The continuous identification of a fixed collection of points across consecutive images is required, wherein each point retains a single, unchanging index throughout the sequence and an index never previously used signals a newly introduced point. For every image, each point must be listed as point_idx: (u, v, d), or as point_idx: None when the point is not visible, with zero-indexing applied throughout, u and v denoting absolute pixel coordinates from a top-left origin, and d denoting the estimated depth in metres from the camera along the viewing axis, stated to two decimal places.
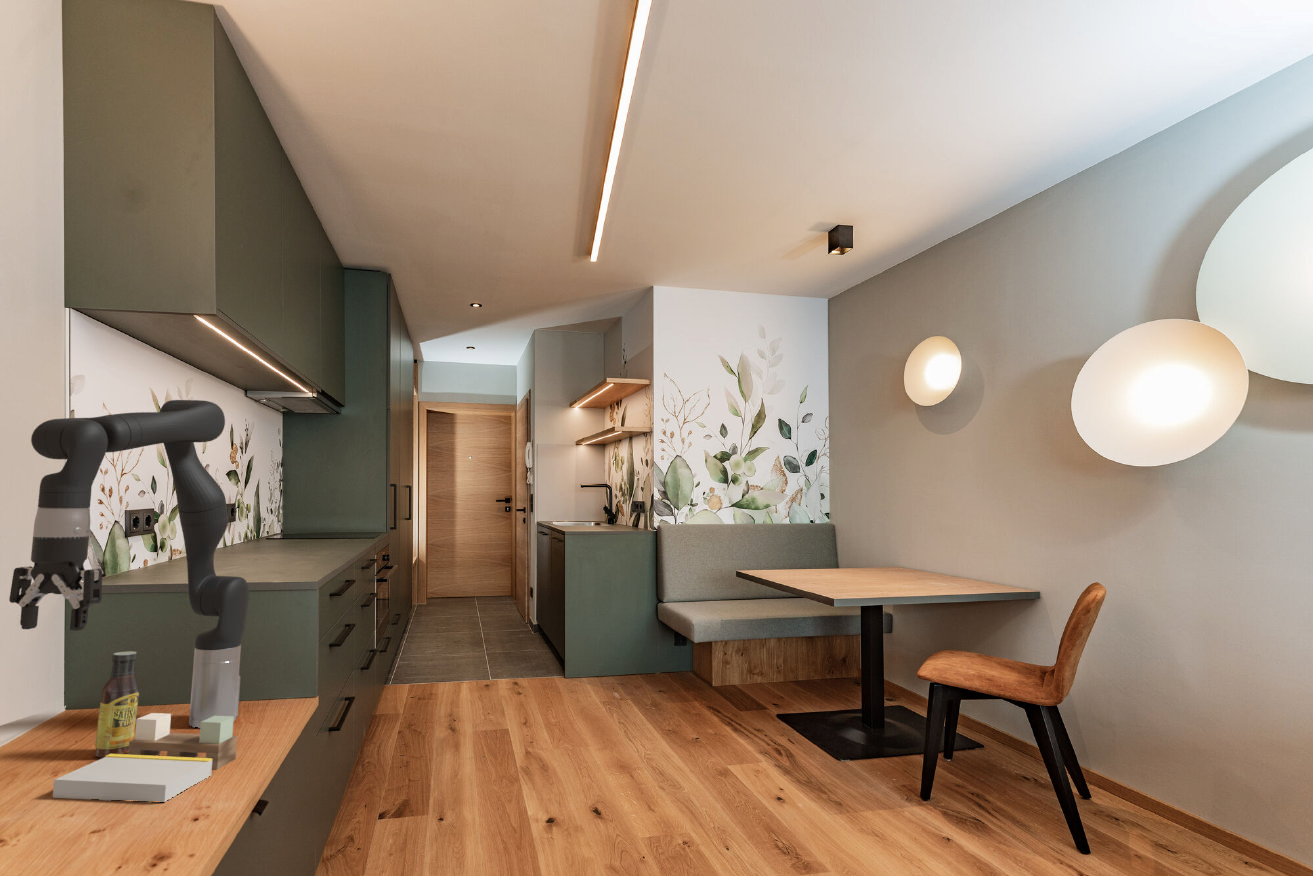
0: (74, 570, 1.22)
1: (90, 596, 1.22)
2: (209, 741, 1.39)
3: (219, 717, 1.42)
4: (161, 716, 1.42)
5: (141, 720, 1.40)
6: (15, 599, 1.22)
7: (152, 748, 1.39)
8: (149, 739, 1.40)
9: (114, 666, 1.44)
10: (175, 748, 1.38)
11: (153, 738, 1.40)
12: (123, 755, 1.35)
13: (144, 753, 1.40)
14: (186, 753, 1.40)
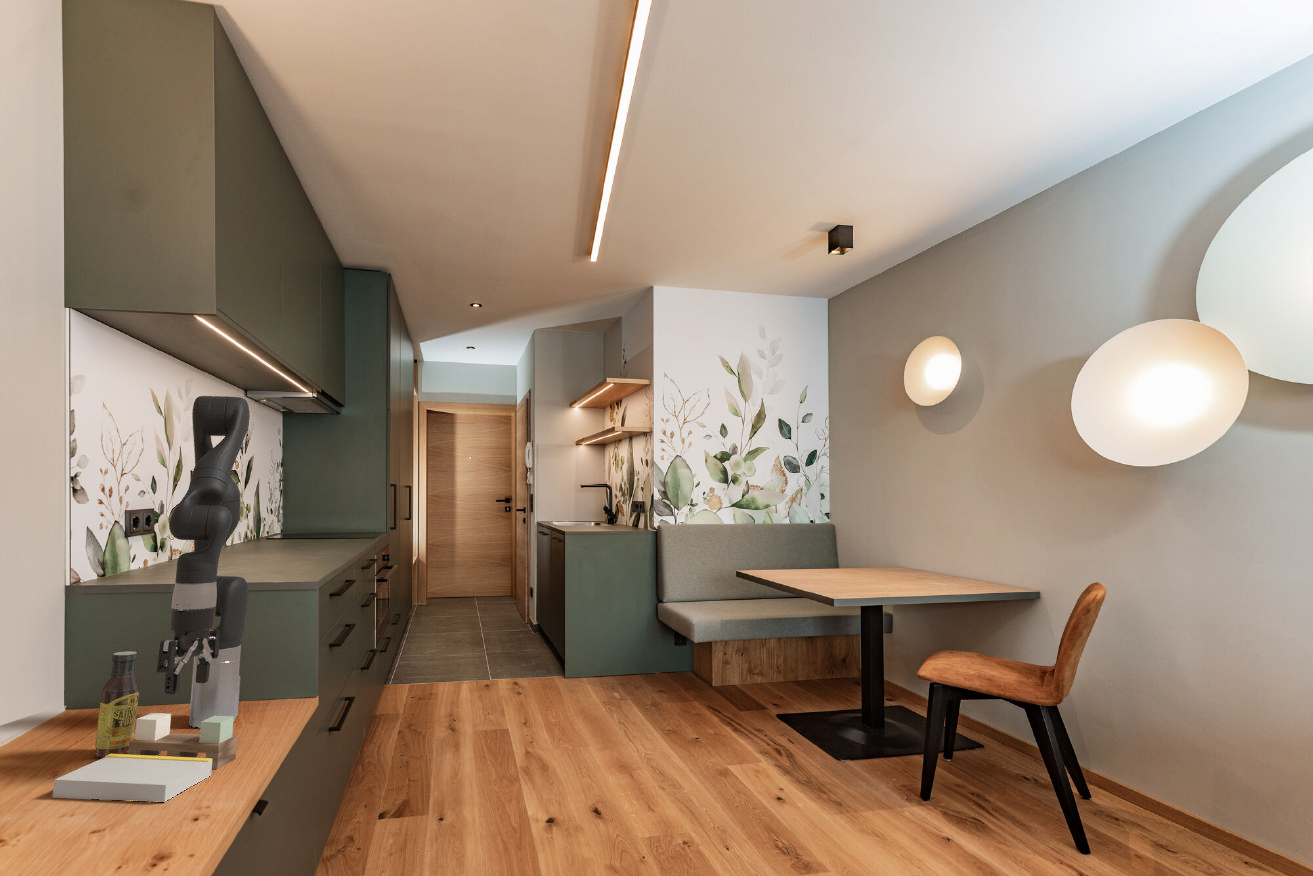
0: (208, 632, 1.47)
1: (218, 650, 1.49)
2: (209, 741, 1.39)
3: (219, 717, 1.42)
4: (161, 716, 1.42)
5: (141, 720, 1.40)
6: (172, 669, 1.36)
7: (152, 748, 1.39)
8: (149, 739, 1.40)
9: (114, 666, 1.44)
10: (175, 748, 1.38)
11: (153, 738, 1.40)
12: (123, 755, 1.35)
13: (144, 753, 1.40)
14: (186, 753, 1.40)
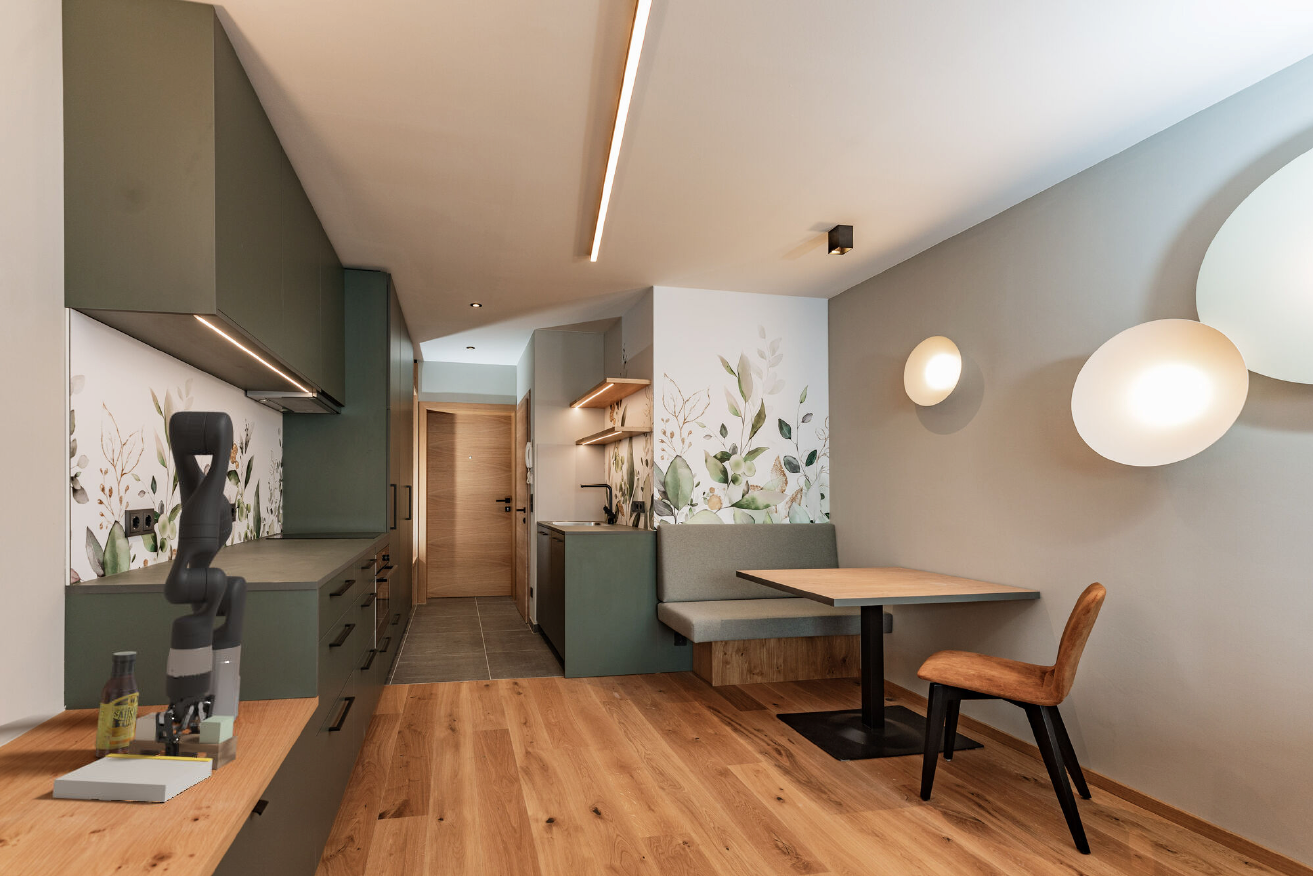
0: (204, 696, 1.46)
1: None
2: (209, 741, 1.39)
3: (219, 717, 1.42)
4: None
5: (141, 720, 1.40)
6: (172, 739, 1.36)
7: (152, 748, 1.39)
8: (149, 739, 1.40)
9: (114, 666, 1.44)
10: None
11: (153, 738, 1.40)
12: (123, 755, 1.35)
13: (144, 753, 1.40)
14: (186, 753, 1.40)
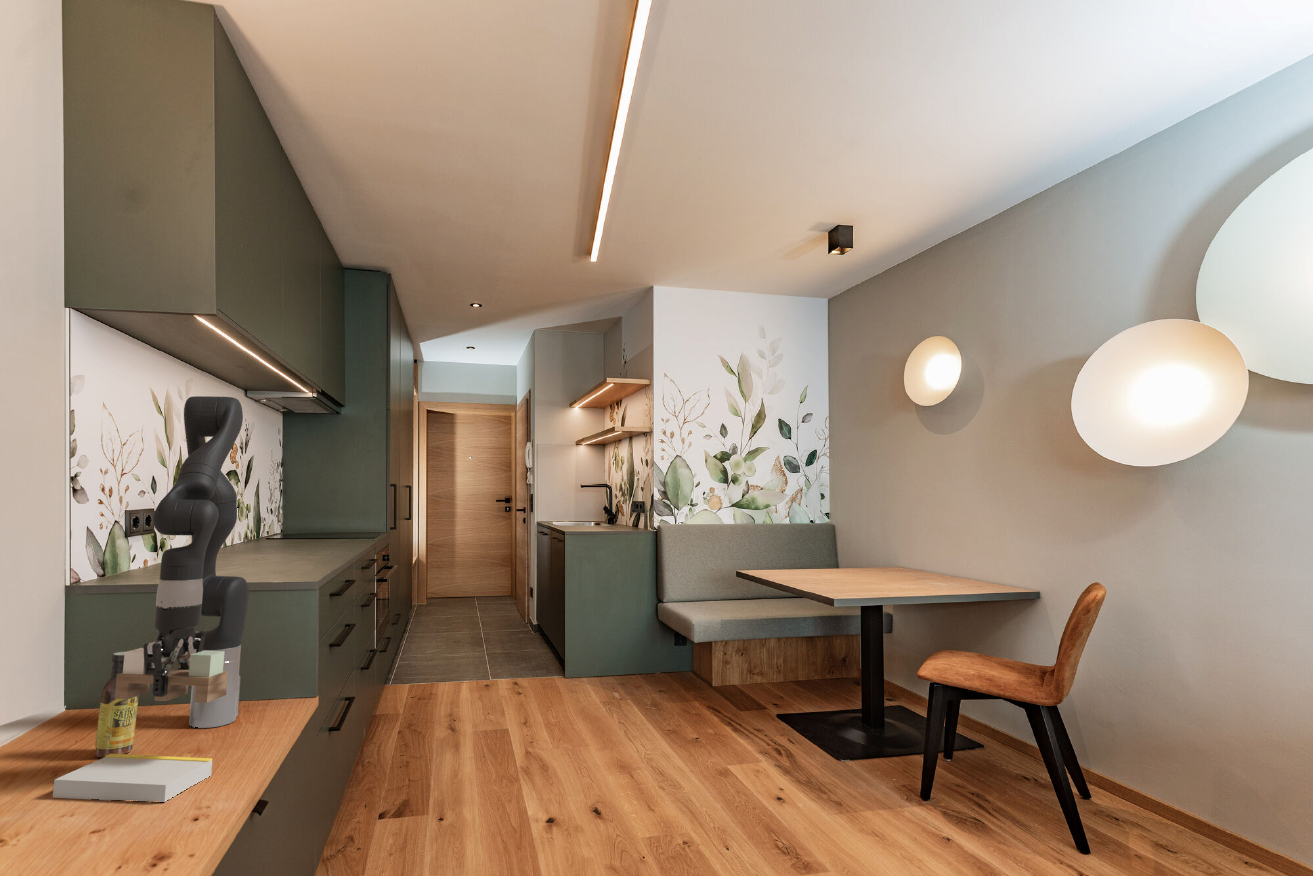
0: (195, 631, 1.42)
1: None
2: (199, 674, 1.36)
3: (209, 651, 1.39)
4: None
5: (129, 653, 1.37)
6: (161, 671, 1.33)
7: (140, 681, 1.35)
8: (137, 672, 1.36)
9: (114, 666, 1.44)
10: None
11: (141, 672, 1.36)
12: (123, 755, 1.35)
13: (132, 687, 1.36)
14: (175, 687, 1.37)
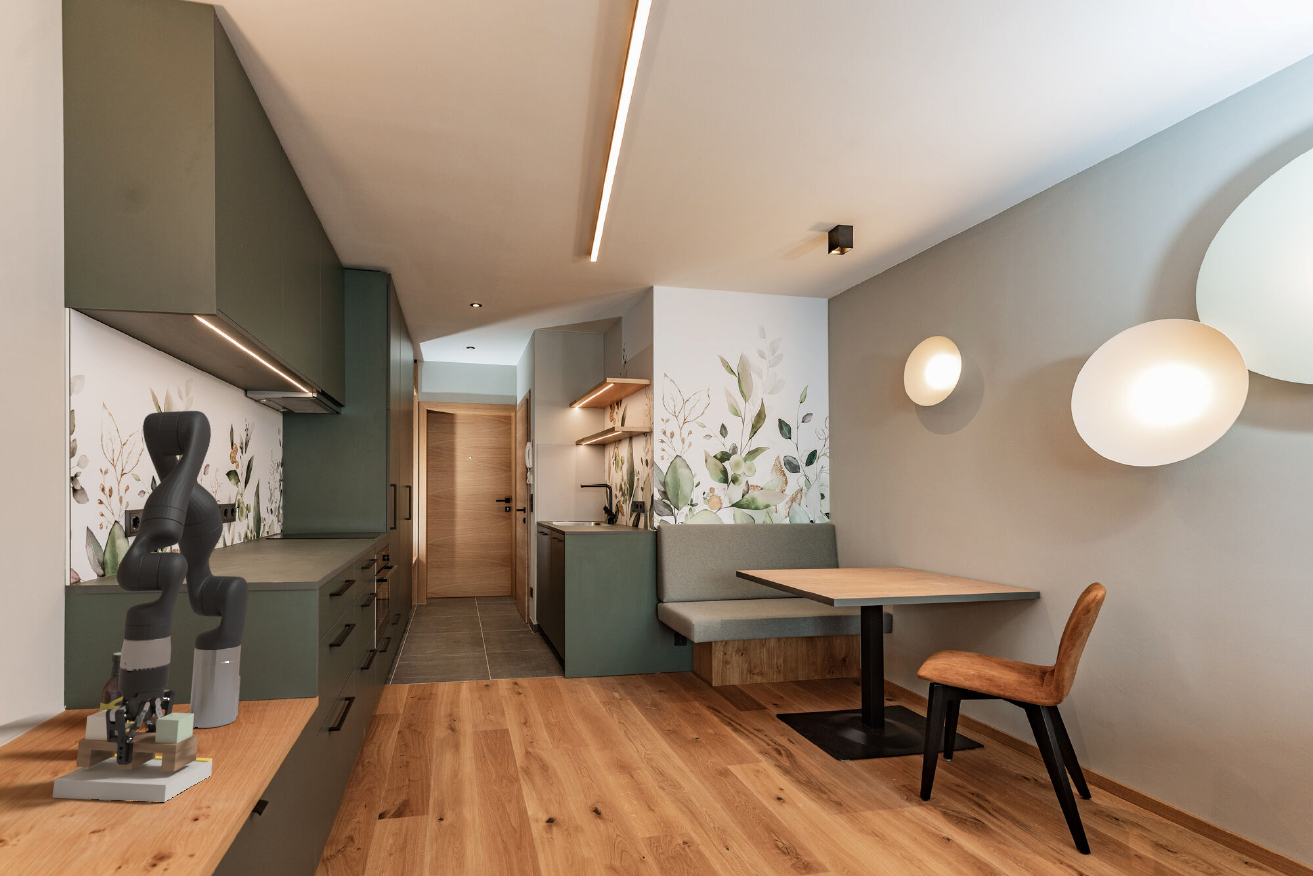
0: (163, 691, 1.34)
1: None
2: (166, 740, 1.27)
3: (178, 714, 1.31)
4: None
5: (92, 717, 1.28)
6: (125, 738, 1.25)
7: (104, 748, 1.27)
8: (101, 738, 1.28)
9: (114, 666, 1.44)
10: None
11: (105, 737, 1.28)
12: None
13: (95, 753, 1.28)
14: (141, 753, 1.29)
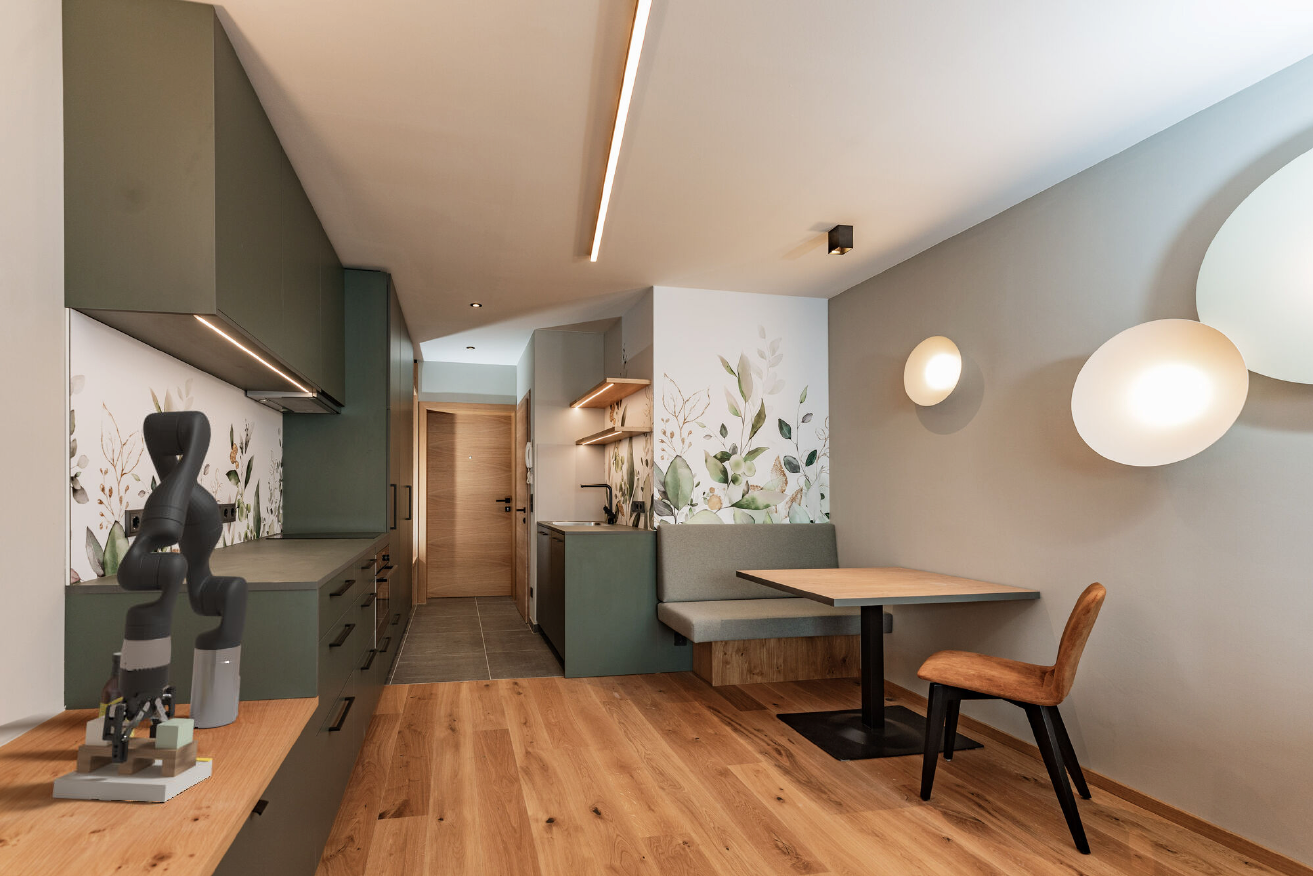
0: (163, 690, 1.34)
1: (174, 708, 1.37)
2: (166, 746, 1.27)
3: (178, 720, 1.31)
4: None
5: (92, 723, 1.28)
6: (120, 736, 1.24)
7: (103, 754, 1.27)
8: (100, 744, 1.28)
9: (114, 666, 1.44)
10: (128, 754, 1.27)
11: (105, 743, 1.28)
12: None
13: (95, 759, 1.28)
14: (141, 759, 1.29)
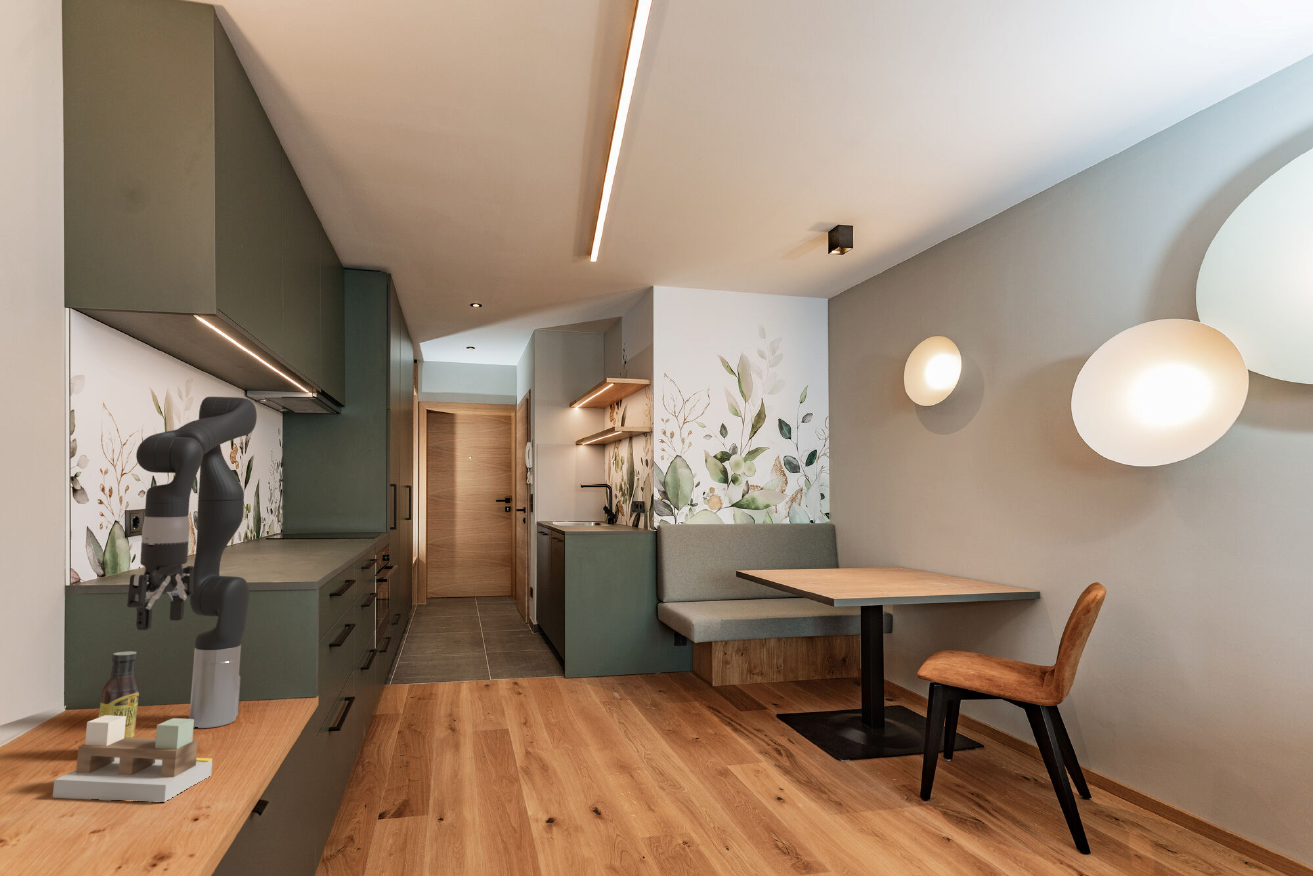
0: (182, 568, 1.42)
1: (192, 587, 1.45)
2: (166, 746, 1.27)
3: (178, 720, 1.31)
4: (114, 719, 1.30)
5: (92, 723, 1.28)
6: (144, 604, 1.32)
7: (103, 754, 1.27)
8: (100, 744, 1.28)
9: (114, 666, 1.44)
10: (128, 754, 1.27)
11: (105, 743, 1.28)
12: None
13: (95, 759, 1.28)
14: (141, 759, 1.29)
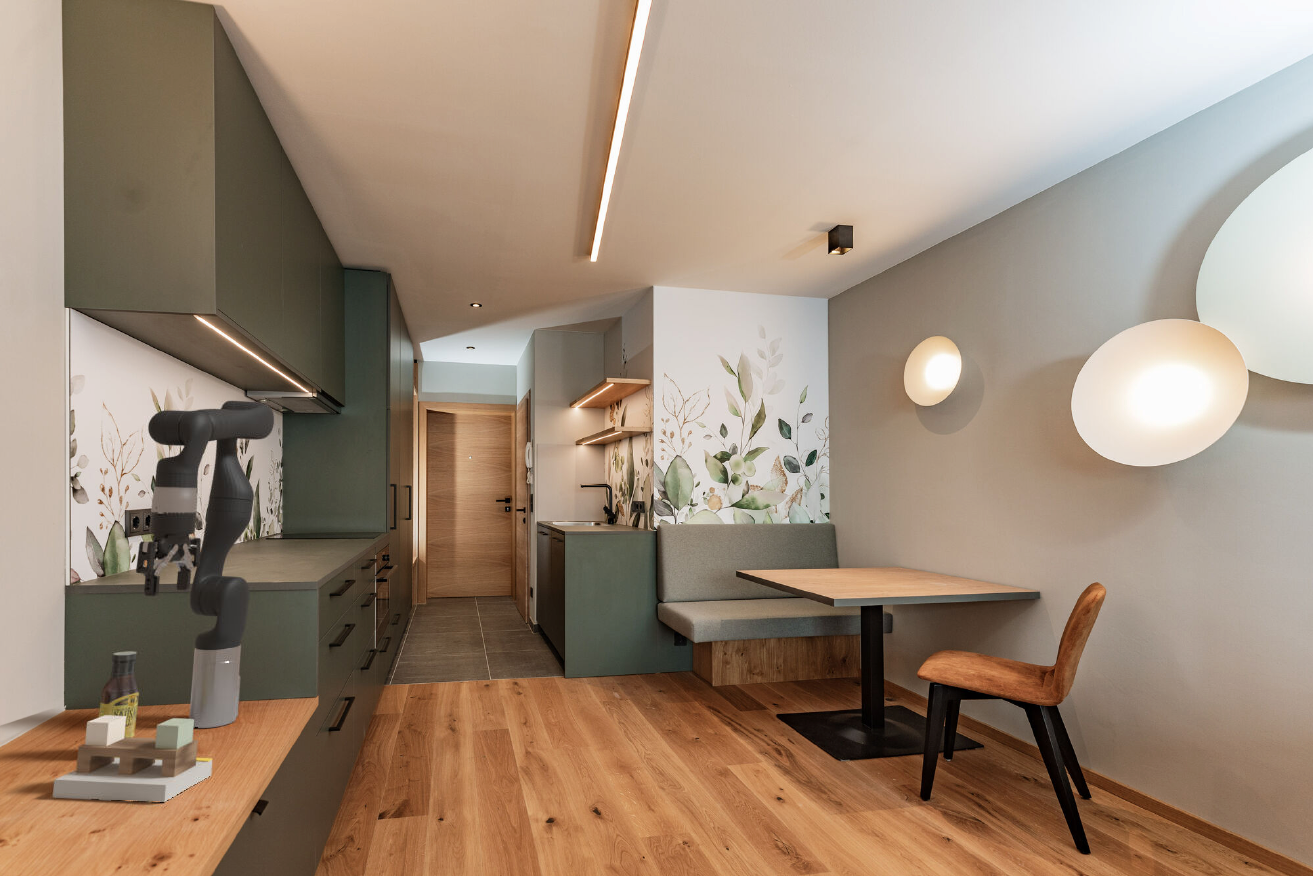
0: (189, 539, 1.46)
1: (199, 559, 1.49)
2: (166, 746, 1.27)
3: (178, 720, 1.31)
4: (114, 719, 1.30)
5: (92, 723, 1.28)
6: (152, 570, 1.36)
7: (103, 754, 1.27)
8: (100, 744, 1.28)
9: (114, 666, 1.44)
10: (128, 754, 1.27)
11: (105, 743, 1.28)
12: None
13: (95, 759, 1.28)
14: (141, 759, 1.29)
